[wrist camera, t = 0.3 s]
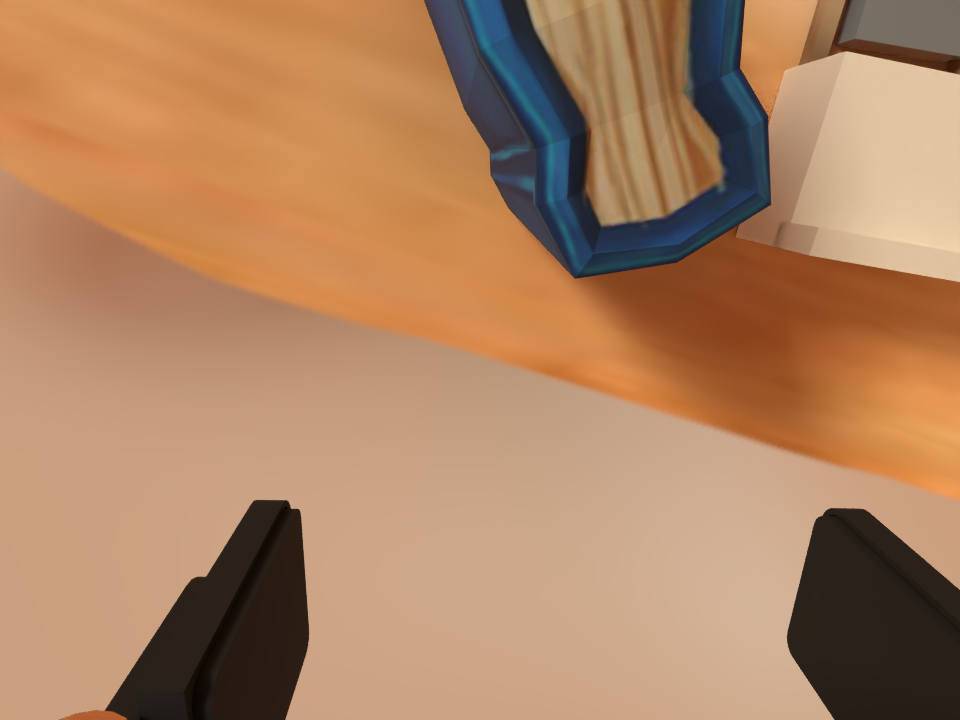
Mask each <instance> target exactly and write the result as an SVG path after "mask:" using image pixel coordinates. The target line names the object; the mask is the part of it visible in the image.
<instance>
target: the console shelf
mask: <svg viewBox="0 0 960 720" xmlns="http://www.w3.org/2000/svg"><path fill="white" fill-rule="evenodd" d="M768 131H769V157H770V183H771V205H770V206H769V207H767V208H765V209H764V210H762V211H760V212H759V213H757V214H755V215H754V216H752V217H751V218H749V219H747V220H746V221H744V222H742V223H741V224H739V226H738V230H737V233H736V236H735V237H736V238H740V239H744V240H748V241H752V242H756V243H760V244H764V245H768V246H772V247H777V248H781V249H785V250H789V251H793V252H797V253H801V254H805V255H809V256H815V257H821V258H826V259H832V260H838V261H843V262H849V263H855V264H860V265H866V266H872V267H877V268H883V269H889V270H894V271H900V272H906V273H911V274H917V275H923V276H928V277H934V278H940V279H945V280H951V281H957V282H960V75H959V74H954V73H949V72H944V71H939V70H935V69H930V68H925V67H920V66H915V65H910V64H906V63H901V62H896V61H891V60H886V59H881V58H877V57H872V56H867V55H862V54H857V53H852V52H848V51H845V52H842V53H838V54H835V55H832V56H829V57H825V58H822V59H819V60H816V61H813V62H809V63H806V64H803V65H800V66H797V67H793V68H790V69H787V70H785V71H784V75H783V78H782V81H781V85H780V88H779V91H778V95H777V98H776V102H775V105H774V108H773V112H772V115H771V118H770V122H769V125H768Z"/></svg>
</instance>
